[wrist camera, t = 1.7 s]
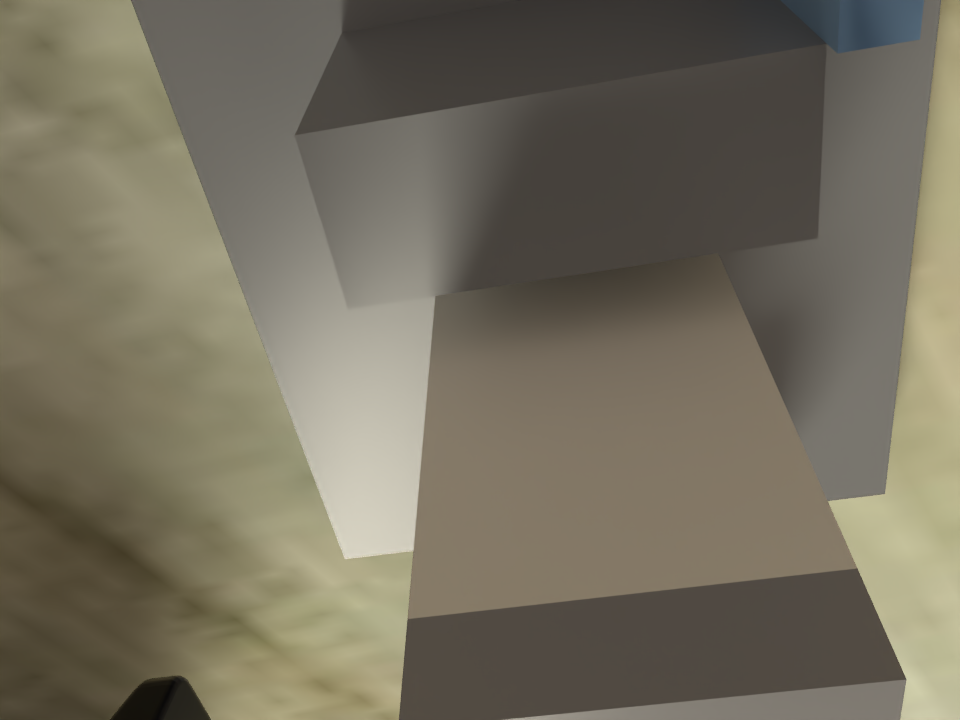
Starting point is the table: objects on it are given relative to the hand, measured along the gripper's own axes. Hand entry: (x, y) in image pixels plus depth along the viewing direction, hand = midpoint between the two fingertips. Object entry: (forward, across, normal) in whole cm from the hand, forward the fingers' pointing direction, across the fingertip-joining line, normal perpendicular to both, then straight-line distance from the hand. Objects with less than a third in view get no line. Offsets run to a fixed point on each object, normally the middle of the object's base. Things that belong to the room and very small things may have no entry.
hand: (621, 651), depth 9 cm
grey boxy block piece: (+6, 0, 0) cm, 6 cm away
